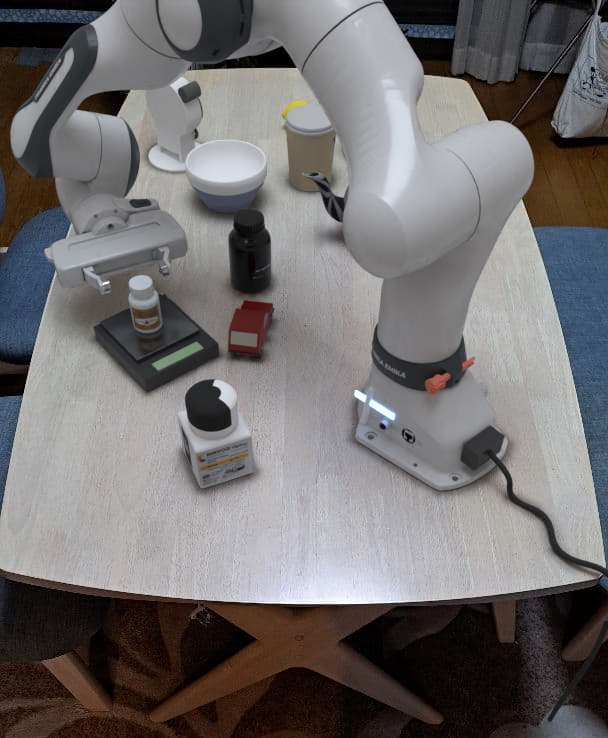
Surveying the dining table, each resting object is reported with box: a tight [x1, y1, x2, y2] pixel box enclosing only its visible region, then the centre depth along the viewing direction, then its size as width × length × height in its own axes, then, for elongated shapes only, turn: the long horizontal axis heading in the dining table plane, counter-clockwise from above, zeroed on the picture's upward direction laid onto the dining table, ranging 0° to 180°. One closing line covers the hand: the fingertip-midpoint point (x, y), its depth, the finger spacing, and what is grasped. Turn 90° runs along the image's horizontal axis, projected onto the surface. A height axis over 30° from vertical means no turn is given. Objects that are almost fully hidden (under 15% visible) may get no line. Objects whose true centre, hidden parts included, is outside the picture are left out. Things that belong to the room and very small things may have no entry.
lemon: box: [281, 99, 310, 121], centre depth 161 cm, size 7×5×5 cm
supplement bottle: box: [227, 208, 272, 295], centre depth 129 cm, size 7×7×12 cm
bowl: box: [185, 138, 268, 213], centre depth 145 cm, size 14×14×8 cm
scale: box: [92, 293, 221, 393], centre depth 123 cm, size 15×13×3 cm
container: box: [176, 378, 255, 489], centre depth 106 cm, size 8×8×13 cm
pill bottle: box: [128, 274, 163, 333], centre depth 119 cm, size 4×4×8 cm
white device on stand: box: [145, 75, 204, 173], centre depth 150 cm, size 12×11×15 cm
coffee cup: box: [284, 103, 337, 193], centre depth 147 cm, size 9×9×12 cm
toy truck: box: [227, 299, 276, 359], centre depth 124 cm, size 6×12×5 cm, turn 170°
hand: (137, 280), depth 118 cm, fingers open, 8 cm apart
